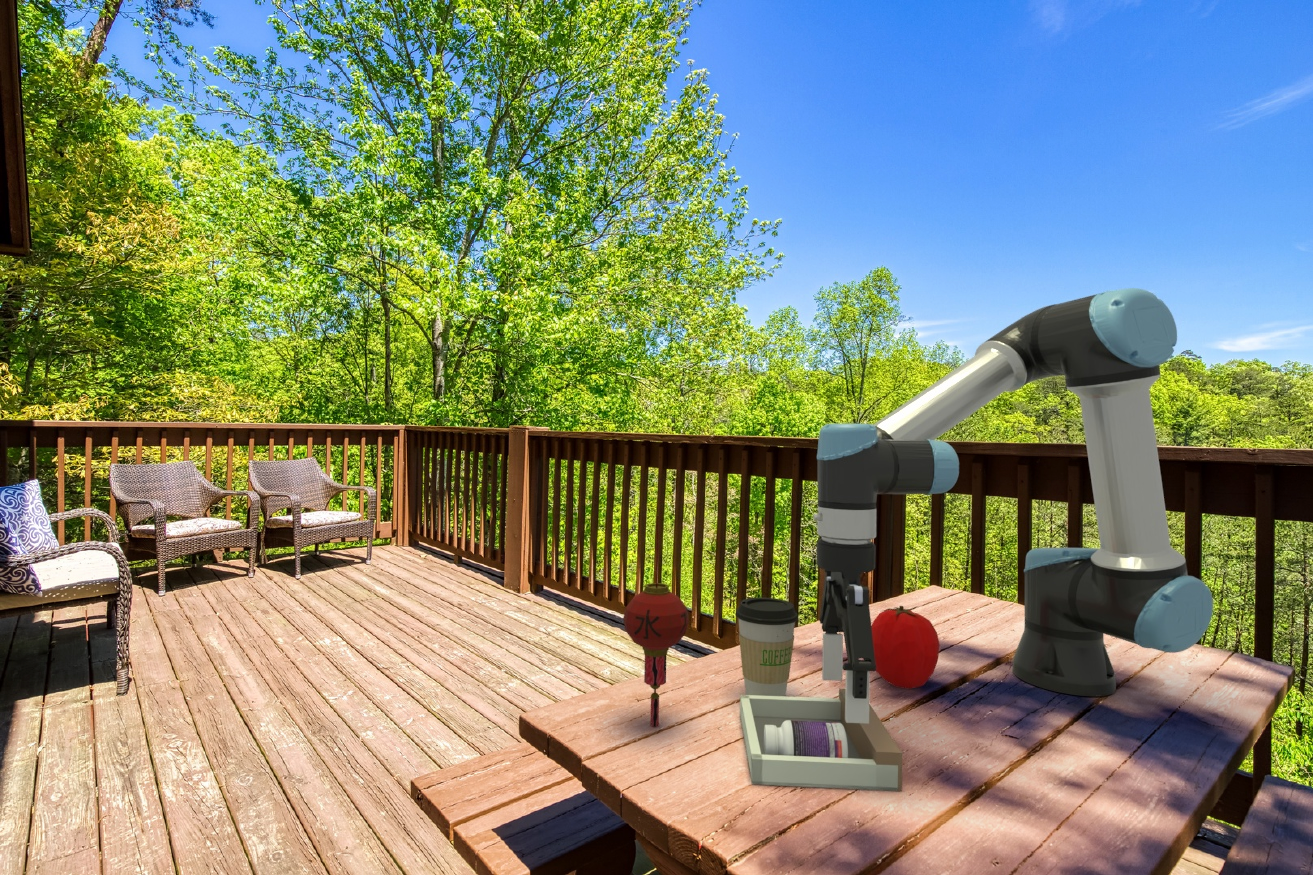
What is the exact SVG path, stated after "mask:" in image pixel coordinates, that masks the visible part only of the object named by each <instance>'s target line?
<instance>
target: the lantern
mask: <svg viewBox="0 0 1313 875" xmlns="http://www.w3.org/2000/svg"><path fill="white" fill-rule="evenodd" d="M659 518H660V517H659V514H657V515H656V544H655V545H656V546H655V547H656V548H655V550H656V552H655V554H656V555H655V560H656V561H655V582H652V583H647V584H644V589H643V591H641V592H640V593H637V594H636V595H634V596H633V598H632V599H631V600H630V601H629V603H628V604H627V605H626V607H625V610H624V614H623V618H622V619H623V625H624V629H625V632H626V634H627V635H628V637H630V639H631V640H632V641H633V643H634V644H636V645H638V646H640V647H642V650H643V654H644V673H643V674H644V676H643V678H644V680H643V683H645V685H648V686H649V687H650V688H651V689H653V692H652V693H651V694H650V720H649V721H650V722H649V723H650V726H651V727H652V728H657V727H659V725H660V724H659V722H660V718H659V716H660V715H659V714H660V695H659V693H658V692H657V690H658V689H660V687H661V686H662V685H666V684H667V655H668V651H669V650H670V648H671V647H673V646H675V645H677V644H678V643H679V642H680V641H681V640H682V638H683V637H684V636H685V635H686V633H687V630H688V625H689V620H690V617H689V613H688V612H689V611H688V608H687V606H686V605H685V603H684V602H683V601H682V599H681V598H680V597H679V595H677V594H675V593H673V592H670V591H671V590H670V589H669V585H668V584H666V583H662V582H661V583H659V582H658V581H659V577H658V576H659V524H660V523H659V522H660V521H659Z"/></svg>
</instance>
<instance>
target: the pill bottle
mask: <svg viewBox="0 0 1313 875" xmlns="http://www.w3.org/2000/svg"><path fill="white" fill-rule="evenodd" d="M764 754H765V755H785V756H808V757H830V758H848V744H847V737H846V732H845V729H844V727H843V725H842V724H841V723H835V722H813V721H795V720H786V721H784V722H783V723H782V725H781V727H780V728H777V727H776V725H775V726H774V725H765V726H764Z"/></svg>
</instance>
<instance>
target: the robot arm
mask: <svg viewBox="0 0 1313 875" xmlns="http://www.w3.org/2000/svg"><path fill="white" fill-rule="evenodd" d="M1177 342H1178V328H1177V325H1176V322H1175V318H1174V315H1173V314H1172V312H1171V310H1170V308H1169V307H1168V305H1166V303H1165V302H1164V301H1163V300H1162V299H1160V298H1158V297H1157V295H1155V293H1153V292H1151V291H1148V290H1147V289H1142V288H1136V287H1135V288H1134V287H1132V288H1131V287H1130V288H1129V287H1128V288H1123V289H1116V290H1105V291H1103V292H1100V293H1097V294H1093V295H1088V296H1085V297H1081V298H1080V297H1079V298H1076V299H1073V300H1069V301H1065V302H1060V303H1057V304H1055V303H1054V304H1051V305H1047V306H1043V307H1041V308H1038V309H1036V310H1034V311H1032V312H1030V313H1028V314H1026V315H1023V316H1022V317H1021V318H1019V319H1018V320H1016V321H1015V322H1013V323H1011V324H1010V325H1008V326H1006V327H1004V329H1001V330H1000V331H999V332H998V333H996V334H994V335H993V336H991V337H990V338H989V339H987V340H986V341H984V342H982V343H980V345H978V347H977V348H976V350H975V353H974V355H973V356H972V357H971V358H969V359H968V360H967V361H965V362H964V363H963V364H961V365H959V366H958V367H956V368H955V369H953V370H952V371H950V372H949V373H947V374H946V375H945V376H943V377H941V378H940V379H939V380H937V381H936V382H934V383H933V384H931V385H930V386H928V387H927V388H925V389H924V390H922V391H921V392H919V393H918V394H917V395H915V396H913V397H912V398H910V399H909V400H908V401H906V402H904V403H903V404H902V405H900V406H898V407H897V408H896V409H893V411H891V412H890V413H888V414H887V415H885V416H884V417H883V418H881V419H880V420H878V421H876V422H875V423H873V424H872V423H847V422H846V423H843V422H842V423H827V424H825V425H823V426H821V428H820V430H819V434H818V435H819V436H818V442H817V443H818V444H817V453H816V461H817V512H816V513H813V515H812V519H813V521H815V522H817V523H816V524H817V526H816V527H817V529H816V534H817V535H818V536H819V537H820V538H819V539H818V540H817V541H816V558H815V559H816V563H815V564H816V565H817V567H818V568H819V569H821V570H823V571H824V583H823V592H822V599H821V606H820V614H819V618H818V620H819V622H820V624H821V629H822V631H823V633H822V660H821V661H822V664H821V665H822V666H821V667H822V668H821V670H822V672H821V674H822V676H821V678H822V680H823V681H832V682H834V681H835V682H843V672H844V671H845V680H844V681H845V688H844V689H845V721H846V723H866V724H869V704H870V690H871V689H870V683H871V682H870V679H871V678H870V677H871V676H870V674H871V672H876V671H875V670H876V663H875V654H874V645H873V636H872V627H871V626H872V620H871V611H870V609H871V608H870V589H869V586H867V585H866V586H865V585H862V584H861V575H862V574H864V573H865V574H868V573H871V572H873V571H874V570H875V569H876V544H875V543H874V542H873V541H872V540H874V539H875V538H877V497H878V495H925V496H929V495H933V494H935V495H937V494H944V493H947V492H948V491H950V490H951V489H952V488H953V487H954V486H955V484H956V483H957V481H958V478H959V474H960V461H959V456H958V454H957V452H956V450H955V449H954V448H953V446H952V445H950V444H949V443H948V442H945V441H942V440H937V439H938V438H939V437H941V436H942V435H943V434H945V433H947V432H948V431H950V430H951V429H952V428H954V427H955V426H957V425H958V424H960V423H961V422H963V421H964V420H966V419H967V418H968V417H970V416H972V414H974V413H976V412H977V411H979V410H981V408H982V407H984V406H985V405H987V404H989V403H991V401H993V400H994V399H996V398H997V397H998V396H1000V395H1002V394H1003V393H1004V392H1008V393H1010V392H1011V393H1013V392H1016V391H1018V390H1020V389H1021V388H1023V387H1024V386H1025V385H1027V384H1029V383H1031V382H1035V381H1038V380H1042V379H1045V378H1046V379H1047V378H1050V377H1051V378H1052V377H1057V376H1064V379H1065V380H1064V381H1065V386H1066V389H1067V390H1068V391H1070V393H1073V394H1074V395H1076V396H1077V397H1078V398H1079V401H1080V408H1081V415H1082V423H1083V430H1084V438H1085V446H1086V451H1087V453H1086V454H1087V458H1088V467H1089V473H1090V479H1091V488H1092V494H1093V501H1094V502H1093V503H1094V507H1095V516H1096V522H1097V530H1098V537H1099V544H1100V547H1099V548H1095V547H1094V548H1093V547H1040V548H1039V547H1036V548H1032V549H1030V550H1029V551H1028V552H1027V553H1026V555H1025V563H1024V564H1025V566H1024V569H1023V576H1024V577H1023V578H1024V579H1023V580H1024V581H1023V583H1024V585H1023V586H1024V589H1023V590H1024V591H1023V592H1024V593H1023V594H1024V598H1023V600H1024V629H1023V632H1022V635H1021V638H1020V640H1019V643H1018V645H1017V648H1016V650H1015V653H1014V655H1013V657H1012V672H1013V674H1014V676H1015V677H1016V678H1018V679H1020V680H1022V681H1023V682H1025V683H1028V684H1030V685H1033V686H1036V687H1039V688H1041V689H1044V690H1049V691H1051V692H1057V693H1060V694H1066V695H1071V696H1072V695H1073V696H1079V697H1081V696H1082V697H1105V696H1109V695H1112V694H1115V692H1116V691H1117V688H1116V687H1117V678H1116V673H1115V671H1114V668H1113V665H1112V662H1111V659H1110V656H1109V652H1108V651H1107V648H1106V645H1105V642H1104V635H1107V636H1110V637H1114V638H1116V639H1120V640H1122V641H1125V642H1129V643H1131V644H1136V645H1138V646H1139V647H1141V648H1144V649H1152V650H1156V651H1161V652H1162V653H1163V652H1164V653H1172V654H1174V653H1180V652H1184V651H1186V650H1188V649H1190V648H1191V647H1193V646H1195V645H1196V644H1197V643H1198V642H1199V641H1200V639H1202V638H1203V636H1204V634H1205V632H1206V631H1207V630H1208V628H1209V625H1210V623H1211V620H1212V617H1213V611H1214V599H1213V595H1212V592H1211V590H1210V588H1209V587H1208V586H1207V585H1206V583H1205V582H1204V581H1202V580H1201V579H1200V578H1197V577H1195V576H1193V575H1188V567H1187V561H1186V558H1185V556H1184V555H1183V554H1181V553H1180V552H1179V551H1177V550H1176V549H1175V548H1173V547H1172V546H1171V539H1170V533H1169V525H1168V518H1167V511H1166V503H1165V498H1164V497H1165V496H1164V488H1163V481H1162V474H1161V466H1160V461H1159V459H1160V457H1159V452H1158V451H1159V450H1158V445H1157V438H1156V430H1155V422H1154V414H1153V409H1152V408H1153V407H1152V401H1151V400H1152V399H1151V393H1150V389H1151V387H1152V386H1153V385H1154V384H1155V383H1156V382H1157V381H1158V380H1159V379H1160V377H1161V369H1160V365H1162V364H1163V363H1165V362H1167V361H1168V360H1169V359H1170V358H1171V356H1172V355H1173V353H1174V351H1175V349H1174V347H1175V346H1176V345H1177ZM844 646H845V652H846V656H847V657H846V658H847V662H845V663H844V662H843V660H844V658H843V657H844V655H843V654H844Z"/></svg>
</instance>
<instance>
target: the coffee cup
mask: <svg viewBox="0 0 1313 875" xmlns="http://www.w3.org/2000/svg"><path fill="white" fill-rule="evenodd" d="M735 617H736V618H738V627H739V629H738V630H739V631H738V638H739V649H740V660H741V668H742V676H743V680H744V681H743V683H744V690H745V691H744V692H745V695H759V696H785V697H787V696H786V695H787V688H788V681H789V679H790V672H791V665H792V657H793V650H794V643H795V642H794V641H795V635H794V632H795V625H796V622H797V621H798V620H799V616H798V613H797V611H796V609H795V605H794V604H793V603H792V602H790V601H788V600H784V599H781V598H775V597H763V596H762V597H748V598H745V599H742V600H740V601H739V605H738V608H736V610H735Z"/></svg>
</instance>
